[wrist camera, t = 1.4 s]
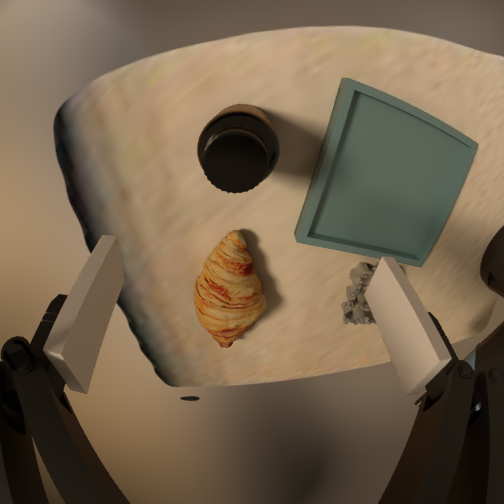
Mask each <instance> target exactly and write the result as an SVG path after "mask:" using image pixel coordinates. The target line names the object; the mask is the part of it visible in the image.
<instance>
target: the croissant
mask: <svg viewBox="0 0 504 504" xmlns="http://www.w3.org/2000/svg"><path fill="white" fill-rule="evenodd" d="M246 248H247V245H246V242H245V240H244V236H243V235H242V233H240V232H239V231H237V230H234V231H232V232H230V233H228V234H227V236H226V237H224V238H223V240H222V241H221V242H220V243H219V245H218V246H216V247H215V248H214V249H213V251H212V253H211V255H209V256H208V257H207V259H206V261H205V263H204V265H203V270H202V272H201V275H200V276H199V277H198V278H197V280H196V282H195V292H194V303H195V309H196V313H197V316H198V319H199V321H200V323H201V324H202V326H203V327H205V329H207V331H208V332H209V333H210V334H212V336H213V338H214V339H215V340H216V341H217V342H218V343H219V344H220V346H221V347H226V348H229V347H230V346H231V345H232V344H233V341H235V340H236V339H238V338H239V337H240V335H242V333H243V332H244V331H248V329H250V328H251V327H252V325H253V324H254V323H255V321H256V320H257V319H258V318H260V316H261V315H262V314H263V313H264V312H265V310H266V309H267V301H266V296H265V295H264V293H263V292H262V282H261V281H260V280H259V279H258V278H257V275H256V274H255V272H254V267H253V261H252V259H251V257H250V256H249V253H248V252H247V251H246Z"/></svg>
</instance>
